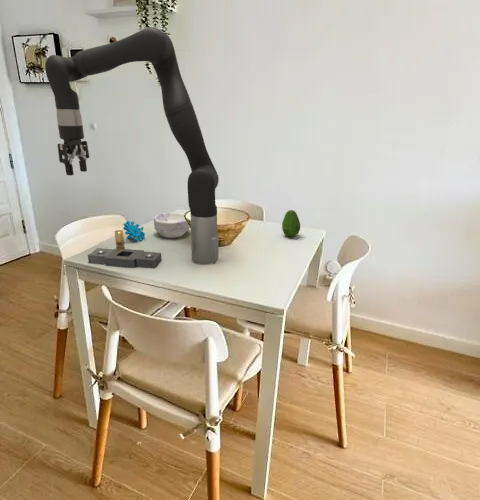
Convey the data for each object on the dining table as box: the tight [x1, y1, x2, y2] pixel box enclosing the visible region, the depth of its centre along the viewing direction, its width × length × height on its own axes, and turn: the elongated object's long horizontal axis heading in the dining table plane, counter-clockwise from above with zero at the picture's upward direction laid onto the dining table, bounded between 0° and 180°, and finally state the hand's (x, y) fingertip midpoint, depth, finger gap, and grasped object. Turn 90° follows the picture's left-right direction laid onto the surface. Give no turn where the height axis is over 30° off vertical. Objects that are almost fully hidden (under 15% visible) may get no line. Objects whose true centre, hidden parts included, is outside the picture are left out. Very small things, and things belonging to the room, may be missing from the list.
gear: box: [122, 220, 146, 242], centre depth 148 cm, size 11×6×10 cm
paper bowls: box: [153, 212, 191, 239], centre depth 154 cm, size 15×15×8 cm
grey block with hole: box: [87, 247, 162, 269], centre depth 126 cm, size 24×9×4 cm, turn 82°
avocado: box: [281, 209, 301, 238], centre depth 154 cm, size 8×8×12 cm
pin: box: [114, 229, 126, 249], centre depth 134 cm, size 3×3×8 cm
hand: (77, 173), depth 125 cm, fingers open, 8 cm apart
